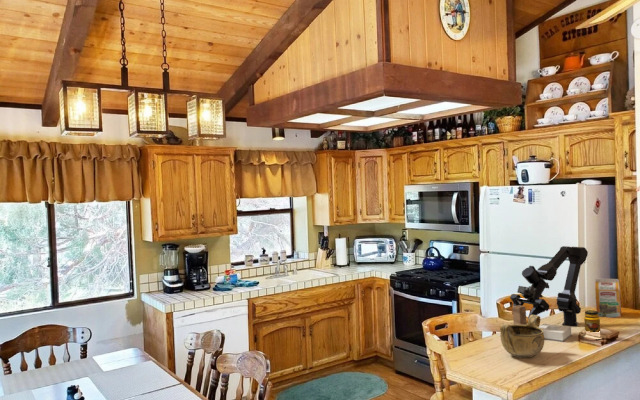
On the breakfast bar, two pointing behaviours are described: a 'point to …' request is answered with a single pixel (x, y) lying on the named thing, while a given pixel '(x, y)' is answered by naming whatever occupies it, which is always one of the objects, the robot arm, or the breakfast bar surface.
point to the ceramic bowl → (523, 338)
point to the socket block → (556, 332)
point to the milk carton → (608, 298)
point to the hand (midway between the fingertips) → (520, 316)
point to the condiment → (592, 321)
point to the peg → (519, 315)
